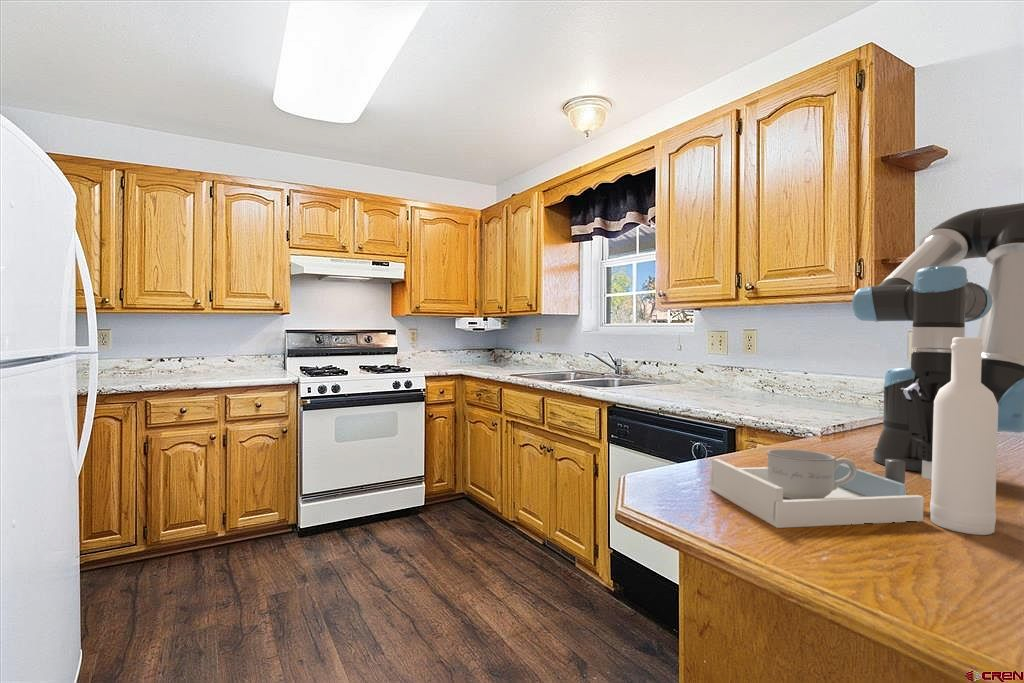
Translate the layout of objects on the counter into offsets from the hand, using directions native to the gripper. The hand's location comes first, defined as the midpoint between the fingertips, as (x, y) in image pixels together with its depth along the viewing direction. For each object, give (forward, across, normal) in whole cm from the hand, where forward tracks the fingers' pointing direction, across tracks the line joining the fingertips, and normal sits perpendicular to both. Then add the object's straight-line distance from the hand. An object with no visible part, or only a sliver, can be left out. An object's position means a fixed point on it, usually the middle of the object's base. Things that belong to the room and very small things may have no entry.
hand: (931, 478), depth 98 cm
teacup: (+3, +25, 0) cm, 25 cm away
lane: (+4, +22, 0) cm, 22 cm away
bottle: (+4, +8, +12) cm, 15 cm away
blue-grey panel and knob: (+3, +10, 0) cm, 10 cm away
